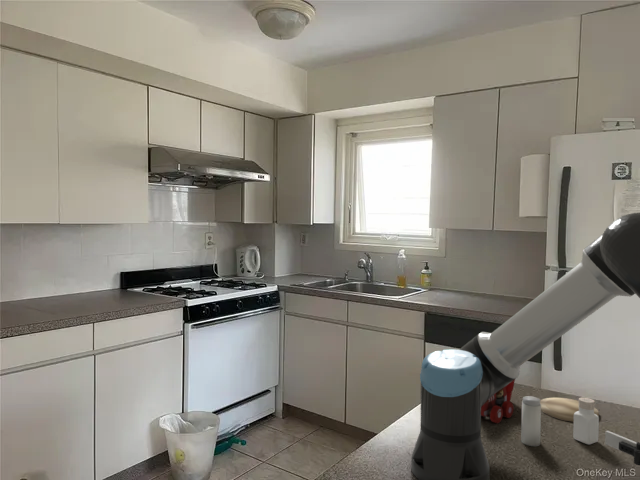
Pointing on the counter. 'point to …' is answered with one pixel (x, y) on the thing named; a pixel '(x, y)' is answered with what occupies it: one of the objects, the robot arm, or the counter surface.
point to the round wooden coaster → (561, 408)
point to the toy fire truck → (497, 407)
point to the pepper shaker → (586, 422)
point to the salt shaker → (531, 421)
